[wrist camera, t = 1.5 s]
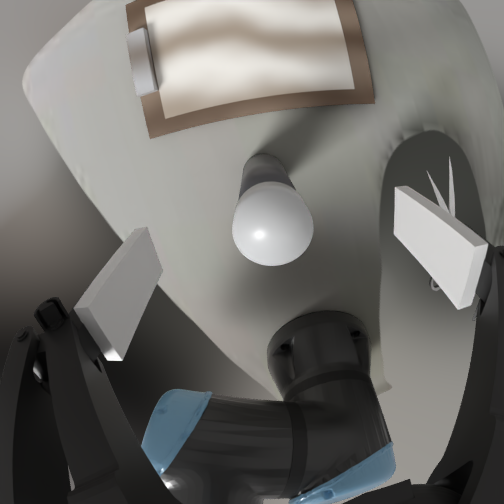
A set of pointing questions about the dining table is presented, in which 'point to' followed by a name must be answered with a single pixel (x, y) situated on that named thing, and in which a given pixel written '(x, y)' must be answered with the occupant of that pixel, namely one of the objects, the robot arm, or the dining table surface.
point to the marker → (270, 214)
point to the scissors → (444, 207)
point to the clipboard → (243, 58)
